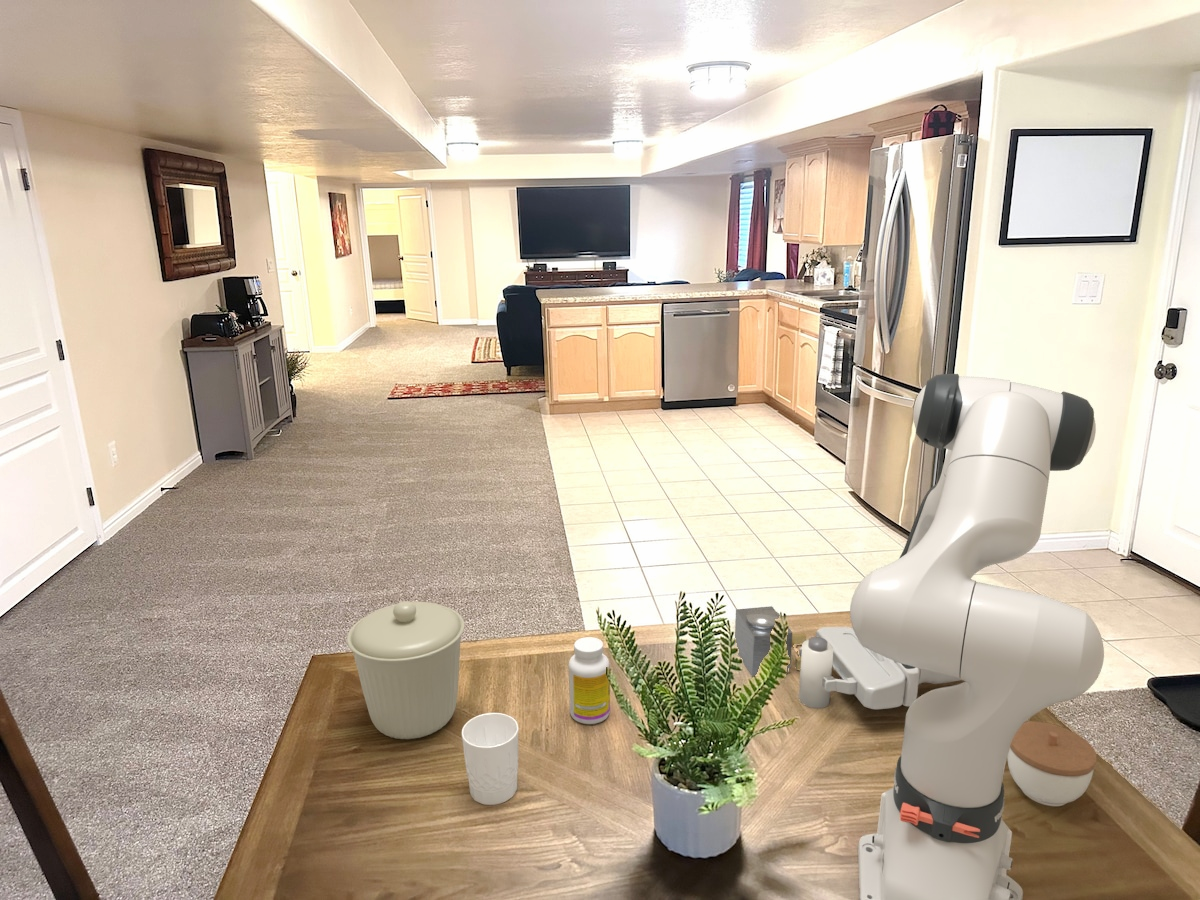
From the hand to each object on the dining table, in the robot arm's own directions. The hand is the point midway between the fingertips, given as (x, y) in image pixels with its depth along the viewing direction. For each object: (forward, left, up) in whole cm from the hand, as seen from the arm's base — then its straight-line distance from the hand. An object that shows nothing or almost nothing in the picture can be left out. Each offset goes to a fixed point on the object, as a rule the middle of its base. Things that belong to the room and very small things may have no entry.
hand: (811, 668), depth 133 cm
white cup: (-42, +35, -6) cm, 55 cm away
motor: (+12, +9, -6) cm, 16 cm away
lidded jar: (-8, -35, -6) cm, 36 cm away
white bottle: (+1, -1, -6) cm, 6 cm away
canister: (-34, +56, -6) cm, 66 cm away
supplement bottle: (-20, +31, -6) cm, 38 cm away
